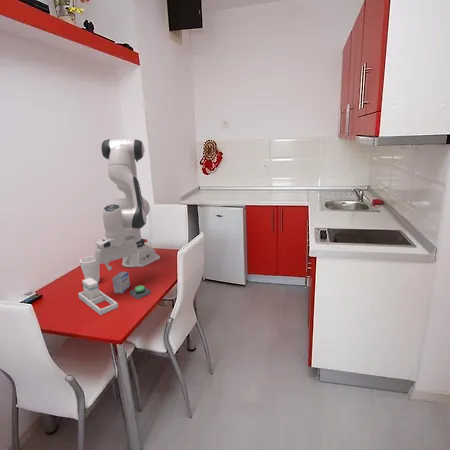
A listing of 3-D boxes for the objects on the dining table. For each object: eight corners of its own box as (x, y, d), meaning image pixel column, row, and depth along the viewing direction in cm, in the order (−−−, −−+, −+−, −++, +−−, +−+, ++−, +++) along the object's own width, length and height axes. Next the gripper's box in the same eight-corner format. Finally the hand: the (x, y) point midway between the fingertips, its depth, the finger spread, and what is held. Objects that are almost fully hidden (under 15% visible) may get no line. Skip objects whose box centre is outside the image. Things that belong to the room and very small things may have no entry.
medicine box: (122, 295, 155) (120, 278, 153) (114, 294, 156) (112, 278, 154) (130, 287, 163) (128, 271, 160) (122, 287, 164) (120, 271, 161)
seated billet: (93, 294, 155) (90, 277, 153) (100, 300, 150) (98, 282, 147) (84, 297, 153) (81, 280, 150) (92, 303, 147) (89, 285, 145)
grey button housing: (143, 291, 158) (142, 285, 157) (151, 296, 153) (150, 290, 152) (130, 296, 153) (129, 291, 152) (138, 301, 148) (137, 295, 148)
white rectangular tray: (95, 292, 158) (94, 287, 158) (118, 309, 142) (117, 303, 141) (79, 299, 153) (78, 293, 152) (100, 316, 137) (99, 310, 136)
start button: (142, 292, 156) (141, 284, 155) (147, 295, 153) (146, 287, 152) (134, 295, 153) (133, 287, 152) (138, 298, 150) (137, 290, 149)
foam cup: (83, 287, 164) (79, 264, 161) (83, 281, 172) (79, 258, 169) (103, 283, 168) (99, 260, 165) (101, 277, 176) (98, 254, 173)
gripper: (132, 233, 161) (135, 259, 165) (91, 243, 147) (95, 271, 151) (138, 235, 157) (141, 262, 160) (97, 246, 143) (101, 275, 146)
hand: (119, 267), depth 155 cm, fingers open, 8 cm apart
